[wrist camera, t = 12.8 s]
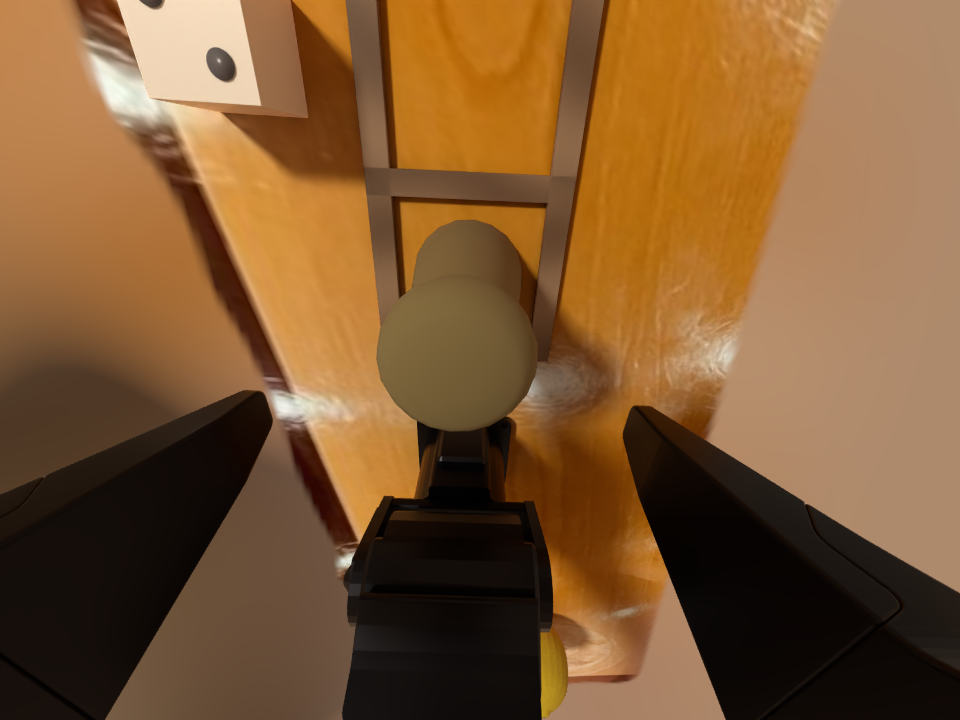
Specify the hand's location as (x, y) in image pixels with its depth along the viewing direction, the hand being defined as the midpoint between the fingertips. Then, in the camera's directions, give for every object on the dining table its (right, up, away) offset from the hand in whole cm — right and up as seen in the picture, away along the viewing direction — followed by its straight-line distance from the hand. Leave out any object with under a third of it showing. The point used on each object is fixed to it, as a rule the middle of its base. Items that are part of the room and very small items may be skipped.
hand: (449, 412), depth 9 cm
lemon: (+7, -26, +29) cm, 40 cm away
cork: (0, +6, +11) cm, 13 cm away
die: (-9, +14, +6) cm, 18 cm away
